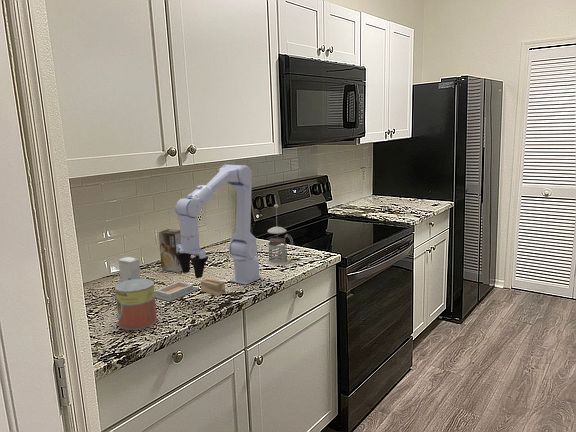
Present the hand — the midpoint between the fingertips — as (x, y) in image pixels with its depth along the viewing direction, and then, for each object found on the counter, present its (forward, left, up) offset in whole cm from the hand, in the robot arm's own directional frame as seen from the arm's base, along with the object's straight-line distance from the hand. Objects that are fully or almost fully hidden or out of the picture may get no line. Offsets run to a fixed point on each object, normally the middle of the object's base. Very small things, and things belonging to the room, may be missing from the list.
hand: (192, 275), depth 156 cm
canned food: (+20, -4, -10) cm, 23 cm away
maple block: (-11, -2, -10) cm, 15 cm away
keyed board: (-3, -13, -10) cm, 16 cm away
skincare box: (+4, -28, -10) cm, 30 cm away
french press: (-52, -2, -10) cm, 53 cm away
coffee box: (-22, -34, -10) cm, 41 cm away
